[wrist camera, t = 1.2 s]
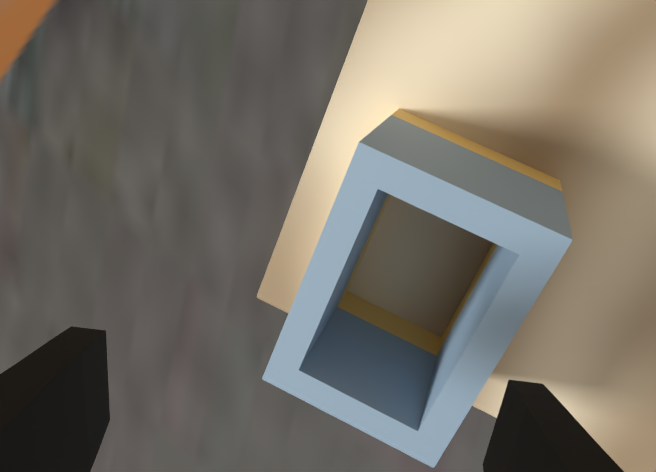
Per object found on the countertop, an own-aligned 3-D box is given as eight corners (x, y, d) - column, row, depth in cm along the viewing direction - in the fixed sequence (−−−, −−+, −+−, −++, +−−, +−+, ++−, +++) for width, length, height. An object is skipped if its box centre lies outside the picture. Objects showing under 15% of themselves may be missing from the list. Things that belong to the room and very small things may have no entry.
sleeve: (560, 180, 18) (573, 239, 13) (453, 367, 21) (433, 468, 16) (399, 108, 18) (358, 141, 14) (317, 299, 21) (262, 378, 17)
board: (1166, -202, 13) (1481, -303, 9) (633, 464, 21) (661, 579, 17) (533, -410, 15) (538, -579, 10) (268, 283, 23) (211, 346, 19)
